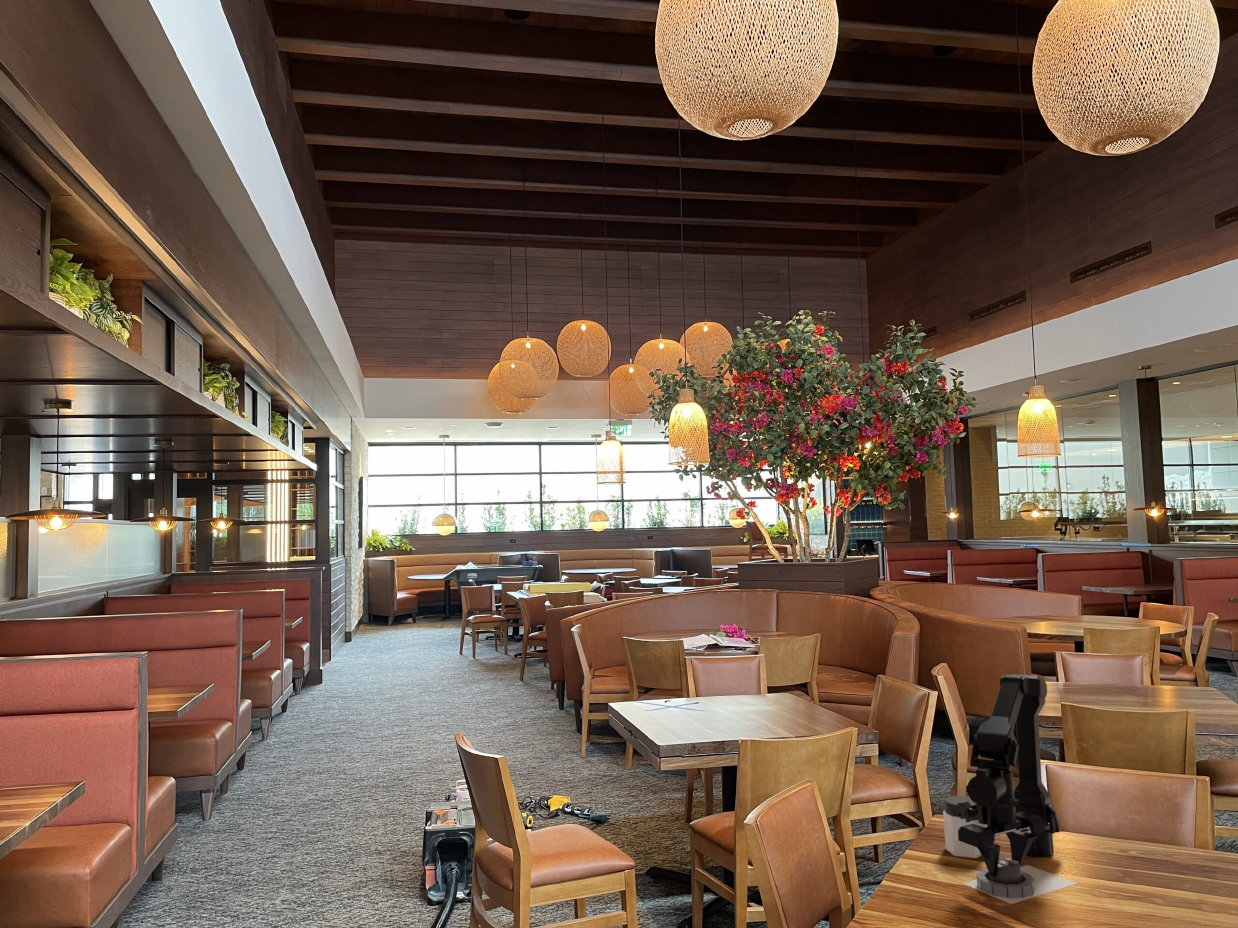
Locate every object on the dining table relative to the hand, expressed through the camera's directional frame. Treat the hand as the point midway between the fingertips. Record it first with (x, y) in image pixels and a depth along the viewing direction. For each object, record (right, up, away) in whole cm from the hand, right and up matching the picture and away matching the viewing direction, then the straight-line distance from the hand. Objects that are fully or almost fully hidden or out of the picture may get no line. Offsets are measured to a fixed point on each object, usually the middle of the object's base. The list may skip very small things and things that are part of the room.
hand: (1004, 872), depth 181 cm
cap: (0, -2, 0) cm, 2 cm away
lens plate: (+4, -4, +1) cm, 6 cm away
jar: (+1, -6, +21) cm, 22 cm away
